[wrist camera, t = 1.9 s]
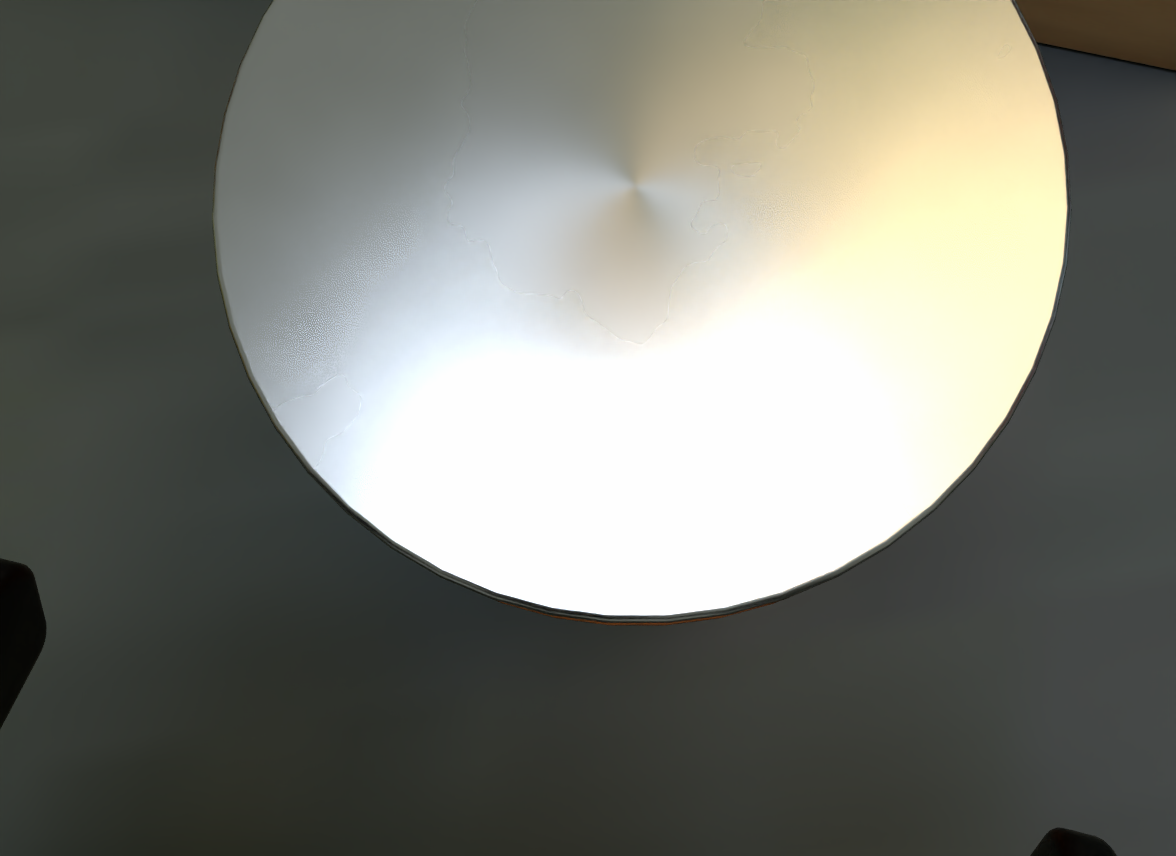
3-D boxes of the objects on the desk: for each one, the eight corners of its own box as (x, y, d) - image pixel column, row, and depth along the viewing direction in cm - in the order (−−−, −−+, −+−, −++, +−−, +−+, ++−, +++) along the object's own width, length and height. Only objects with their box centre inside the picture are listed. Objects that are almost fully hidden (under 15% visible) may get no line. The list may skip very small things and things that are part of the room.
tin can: (803, 606, 20) (1077, 662, 8) (445, 582, 21) (156, 599, 8) (817, 256, 21) (1085, -203, 9) (473, 238, 21) (248, -229, 9)
